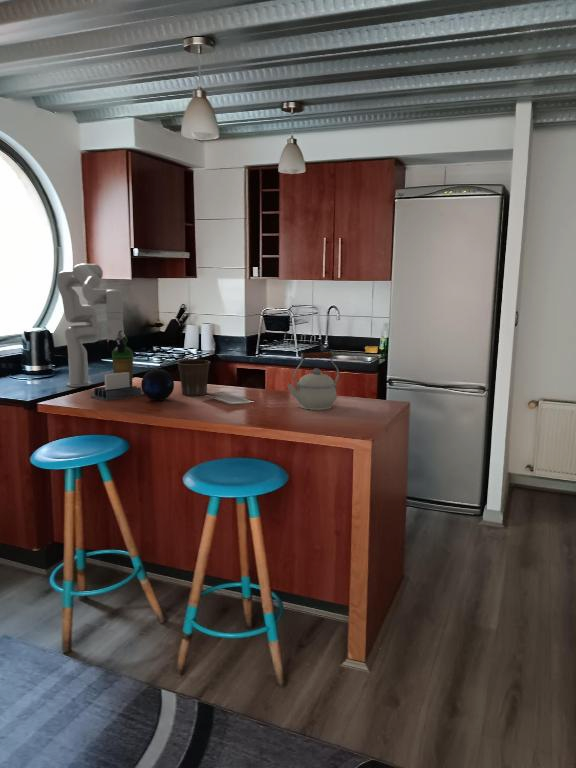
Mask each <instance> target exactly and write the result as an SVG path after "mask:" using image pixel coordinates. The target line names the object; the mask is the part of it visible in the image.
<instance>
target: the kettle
mask: <svg viewBox="0 0 576 768" xmlns="http://www.w3.org/2000/svg"><path fill="white" fill-rule="evenodd" d="M300 358H301V359H300V362H299V364H298V365H297V367H296V368H295V369H294V372H293V375H292V376H293V381H294V383H295V387H293V385H292V384H286V386H287V388H288V390H289V392H290V393H291V394H292V396H293V397H294V398H295V399H296V401H298V403H299V404H300V408H302V409H303V408H304V410H307V409H310V410H309V411H326V410H330V409H331V408H332V407H333V404H334V403H335V401H336V399H337V396H338V395H337V389H336V388H337V386H338V384H337V383H338V380H339V376H340V370H339V368H338V366H337V365H336V364H335V362H334V361H333V352H331V351H329V352H321V351H320V352H309V353H305V352H301V353H300ZM325 358H329V359H330V362H331V363H332V365H333V366H334V367H335V369H336V371H337V372H336V376H335V379H333V378H332V377H331V376H329V375H327V374H325V373H321V372H322V371H321V370H320V368H318V367H316V368H314V369H313V370H312V373H306V374H304V375H303V376H302V377H300V379H299V380H298V381H297V380H296V373H297V372H298V369H300V366H302V364H303V362H304V360H305V359H310V360H311V359H325Z"/></svg>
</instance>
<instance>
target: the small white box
mask: <svg viewBox="0 0 576 768" xmlns="http://www.w3.org/2000/svg"><path fill="white" fill-rule="evenodd" d="M104 387H105V390H110V389H117V388H125V387H130V382H129V372H123V373H114V372H113V373H107V374H104Z"/></svg>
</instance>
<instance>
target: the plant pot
mask: <svg viewBox="0 0 576 768" xmlns="http://www.w3.org/2000/svg"><path fill="white" fill-rule="evenodd" d="M176 363H177V365H178V366H177V367H178V371H179V377H180V385H181V386H180V388H181V394H182V395H184V396H187V397H197V396H204V395H207V392H208V377H209V370H210V364H211V361H210V360H206V359H185V360H180V361H179V360H178V361H177V362H176Z"/></svg>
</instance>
